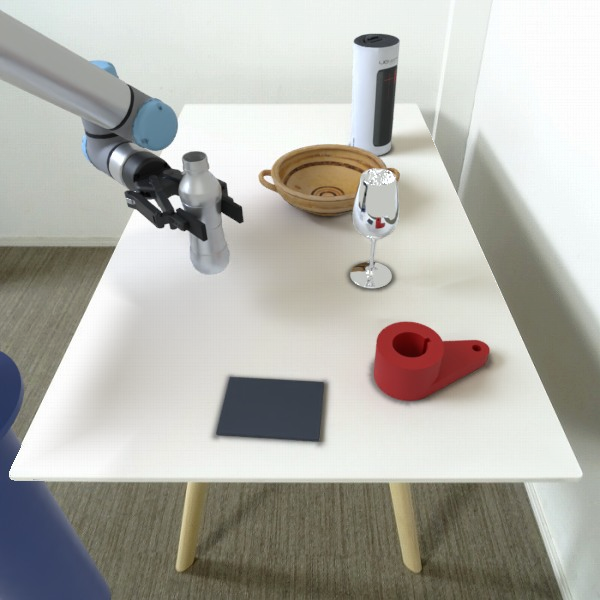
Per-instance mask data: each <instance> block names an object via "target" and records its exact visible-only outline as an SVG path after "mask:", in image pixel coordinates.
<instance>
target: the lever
mask: <svg viewBox="0 0 600 600" xmlns="http://www.w3.org/2000/svg"><path fill="white" fill-rule="evenodd" d="M490 352H491V350H490V346H489V345H488V344H487V343H486V342H484V341H483V340H479V339H463V340H461V339H460V340H443V339H442V337H441V335H439V333H438V332H437V331H435V330H434V329H433V328H431V327H430V326H427V325H426V324H422V323H419V322H416V321H398V322H394V323H391V324H389V325H388V324H387V326H385V327H384V328H382V329H381V330H380V331H379V333H378V334H377V337H376V341H375V353H374V363H373V379H374V383H375V384H376V386H377V387H378V388H379V390H380V391H381V392H382V393H384V394H385V395H387V396H388V397H391V398H393V399H395V400H399V401H403V402H404V401H405V402H414V401H415V402H416V401H420V400H423V399H426V398H427V397H429V396H431V395H433V394H435V393H437V392H438V391H441V390H442V389H443V388H445V387H447V386H450V385H452V384H453V383H455V382H456V381H459V380H460V379H462V378H464V377H466V376H468V375H470V374H471V373H473V372H475V371H476V370H479V369H480V368H482V367H484V366H485V365H486V364H487V362H488V359H489V356H490Z"/></svg>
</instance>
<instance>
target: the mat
mask: <svg viewBox="0 0 600 600" xmlns="http://www.w3.org/2000/svg"><path fill="white" fill-rule="evenodd" d="M324 385H325V382H324V381H317V380H316V381H315V380H314V381H313V380H298V379H297V380H296V379H294V380H293V379H277V378H261V377H243V376H242V377H241V376H229V379H228V383H227V387H226V391H225V395H224V399H223V402H222V407H221V410H220V415H219V419H218V422H217V426H216V431H215V434H216V435H217V436H228V437H245V438H247V437H248V438H259V439H261V438H262V439H273V440H293V441H305V442H306V441H308V442H320V439H321V437H320V436H321V423H322V414H323V413H322V412H323V399H324V387H325V386H324Z"/></svg>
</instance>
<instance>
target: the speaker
mask: <svg viewBox="0 0 600 600" xmlns="http://www.w3.org/2000/svg"><path fill="white" fill-rule="evenodd" d="M400 42H401V40H400V38H399V37H397V36H395V35H393V34H388V33H366V34H361V35H359V36H356V37H355V38H354V39H353V50H352V82H351V83H352V85H351V88H352V89H351V112H350V113H351V115H350V118H351V119H350V141H349V142H350V143H349V144H350V145H349V146H353V147H357V148H361V149H364V150H366V151H369V152H371V153H373V154H375V155H376V156H378V157H380V156H384V155H387V154H388V153H389V152H390V151H391V150H392V142H393V131H394V130H393V127H394V118H395V117H394V116H395V104H396V93H397V92H396V90H397V78H398V65H399V55H400Z"/></svg>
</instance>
